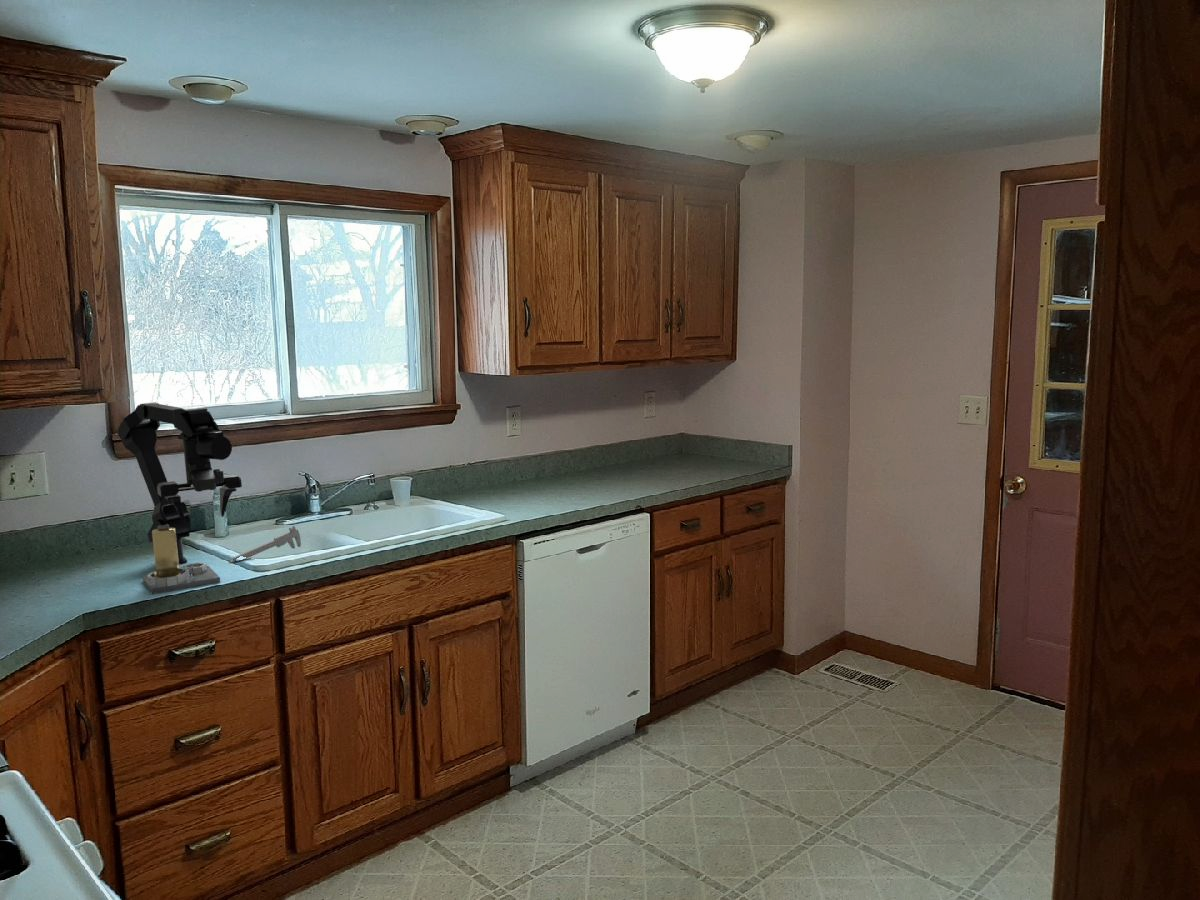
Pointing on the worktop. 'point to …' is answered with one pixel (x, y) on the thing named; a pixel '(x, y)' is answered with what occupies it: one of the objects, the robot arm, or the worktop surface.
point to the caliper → (274, 543)
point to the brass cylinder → (165, 551)
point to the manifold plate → (189, 583)
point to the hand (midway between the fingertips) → (203, 519)
